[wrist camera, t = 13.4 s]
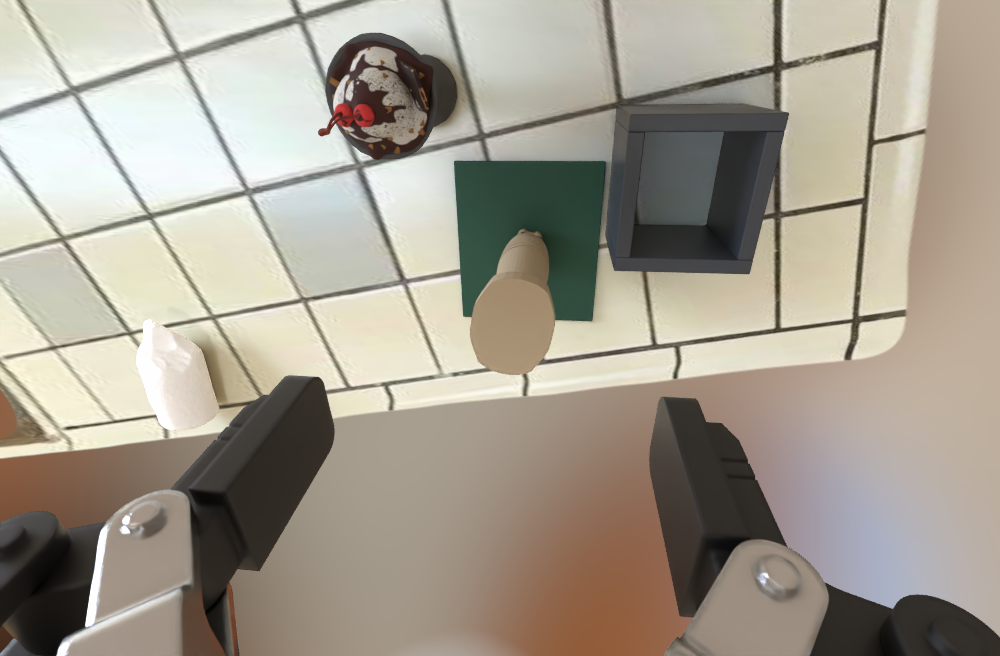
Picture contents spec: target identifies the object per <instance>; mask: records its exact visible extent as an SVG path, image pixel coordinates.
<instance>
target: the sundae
mask: <svg viewBox="0 0 1000 656" xmlns="http://www.w3.org/2000/svg"><path fill="white" fill-rule="evenodd" d="M325 92H326V97H327V102H328V106H329V109H330V112H331V115H332V118H331V120H330V122H329V124H328V127H327V128H326V129H320V130H319V131H318V134H319V135H320V136H324V135H328V134H330V131H331V129H332V127H333V126H334V125H335V124H337V126H338V128H339V130H340V131H341V133H342V134H343V135H344V137H345V138H346V139H347V140H348V141H349V142H350V143H351V144H352V145H353V146H354V147H355V148H357V149H358V150H359V151H360V152H362V153H364V154H367V155H369V156H371V157H372V158H373V159H375V160H379V159H400V158H403V157H406V156H409V155H411V154H413V153H415V152H416V151H417V150H419V149H420V148H421V147H422V146H423V144H424V143H425V142H426V140H427V139H428V137H429V135H430V133H431V131H432V128H433V126H436V125H438V124H441V123H442V122H444V121H445V120H446V119H447V118H448V117H449V116H450V114H451V113H452V111H453V109H454V106H455V103H456V98H457V93H456V84H455V81H454V78H453V76H452V74H451V72H450V70H449V69H448V68H447V67H446V66H445V64H443V63H442V62H441V61H440V60H439V59H437V58H434V57H432V56H429V55H420V54H419V53H418V52H417V51H415V50H414V49H413V48H412V47H410V46H409V45H408V44H406V43H405V42H404V41H402V40H399V39H397V38H395V37H393V36H390V35H386V34H383V33H365V34H361V35H358V36H356V37H354V38H352V39H351V40H349V41H348V42H346V43H345V44H344V45H343V46H342V47H341V48H340V49H339V50H338V52H337V53H336V55H335V56H334V58H333V60H332V62H331V64H330V66H329V68H328V72H327V77H326V89H325ZM333 121H334V122H333ZM332 122H333V123H332ZM331 124H332V125H331Z"/></svg>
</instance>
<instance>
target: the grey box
mask: <svg viewBox="0 0 1000 656" xmlns="http://www.w3.org/2000/svg"><path fill="white" fill-rule="evenodd" d="M788 116H789V113H787V112H782V111H777V110H772V109H767V108H762V107H757V106H752V105H747V104H668V105H617V111H616V122H615V133H614V144H613V155H612V166H611V178H610V189H609V200H608V211H607V222H606V224H607V225H606V233H605V236H606V240H607V244H608V248H609V252H610V256H611V260H612V264H613V268H614V271H645V272H684V273H723V274H750V270H751V266H752V262H753V258H754V254H755V250H756V245H757V241H758V237H759V233H760V229H761V225H762V221H763V217H764V213H765V209H766V205H767V201H768V197H769V193H770V189H771V185H772V181H773V177H774V173H775V169H776V165H777V161H778V156H779V152H780V148H781V144H782V140H783V136H784V131H785V128H786V124H787V120H788ZM645 132H724V137H723V143H722V148H721V153H720V158H719V163H718V169H717V174H716V179H715V184H714V190H713V195H712V200H711V205H710V210H709V216H708V221H707V226H679V225H634V221H635V213H636V204H637V196H638V187H639V179H640V170H641V162H642V153H643V145H644V136H645Z"/></svg>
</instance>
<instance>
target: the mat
mask: <svg viewBox="0 0 1000 656" xmlns="http://www.w3.org/2000/svg"><path fill="white" fill-rule="evenodd" d="M605 163H606V162H605V161H454V169H455V186H456V202H457V219H458V236H459V252H460V269H461V285H462V302H463V316H464V317H472V314H473V309H474V306H475V303H476V300H477V298H478V297H479V295H480V293H481V292H482V291H483V289H484V288H485V286H486V285H487V284H488V282H489V281H490V280H491V279H492V277H493V276H494V275H496V274H497V268H498V263H499V261H500V258H501V255H502V253H503V251H504V249H505V247H506V246H507V244H508V243H509V242H510V240H511V239H513V238H514V237H515V236H517V235H518V233H519V231H520V230H522V229H526V230H527V231H530V232H536V231H538V232H539V233H540V234H541V235H542V241H543V242H544V243H545V245H546V248H547V251H548V256H549V275H548V280H547V285H548V287H549V290H550V293H551V297H552V301H553V305H554V310H555V320H572V321H592V318H593V306H594V294H595V282H596V270H597V258H598V246H599V235H600V223H601V211H602V199H603V187H604V175H605Z"/></svg>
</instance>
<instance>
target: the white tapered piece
mask: <svg viewBox="0 0 1000 656" xmlns="http://www.w3.org/2000/svg"><path fill="white" fill-rule="evenodd" d="M143 330H144V334H143V335H144V338H143V342H142V344H141V345H140V347H139V349H138V352H137V366H138V369H139V372H140V375H141V378H142V380H143V383H144V385H145V389H146V392H147V396H148V399H149V401H150V403H151V406H152V407H153V409H154V411H155V413H156V415H157V417H158V420H159V422H160V424H161V425H162V426H163V427H164V428H166V429H168V430H174V431H176V430H187V429H192V428H195V427H198V426H201V425H203V424H205V423H207V422H209V421H210V420H212V419H213V418H214V417H215V416H216V415H217V414H218V412H219V405H218V402H217V399H216V396H215V393H214V390H213V386H212V383H211V379H210V376H209V372H208V369H207V365H206V362H205V359H204V356H203V353H202V350H201V348H199V347H198V346H197V345H196V344H194V343H193V342H192V341H190V340H188V339H187V338H184V337H182V335H181V334H179V333H176V332H175V331H173V330H170V329H166V328H165V327H164V326H162V325H161V326H159V325H158V324H156V323H154V322H153V321H152V320H151V319H149V320H146V321H145V322H144V329H143Z"/></svg>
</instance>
